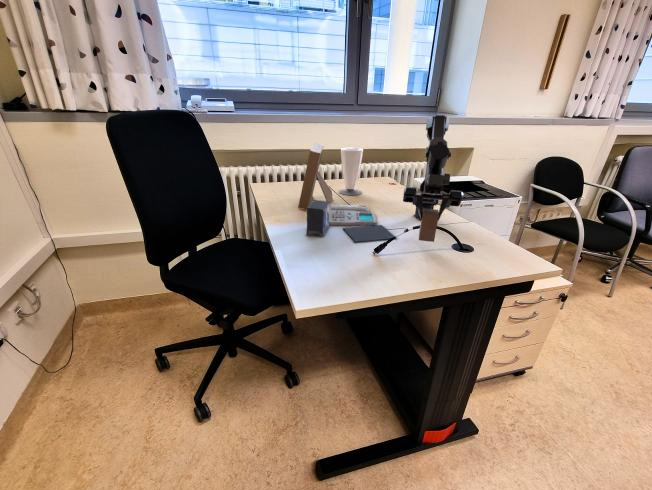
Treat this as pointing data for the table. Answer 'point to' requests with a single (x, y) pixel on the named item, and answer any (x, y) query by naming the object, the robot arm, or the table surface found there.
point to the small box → (317, 218)
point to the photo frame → (313, 178)
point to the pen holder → (428, 225)
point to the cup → (351, 168)
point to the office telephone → (351, 215)
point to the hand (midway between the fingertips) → (429, 219)
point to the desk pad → (368, 233)
